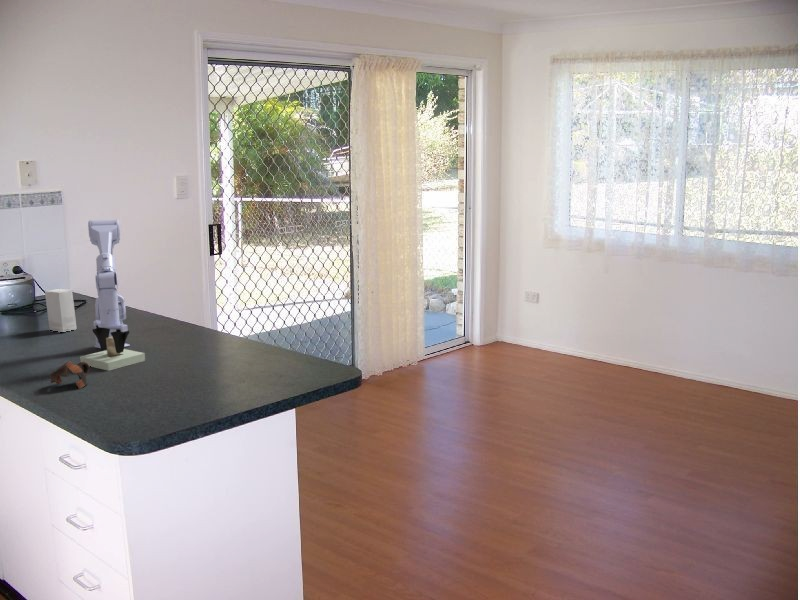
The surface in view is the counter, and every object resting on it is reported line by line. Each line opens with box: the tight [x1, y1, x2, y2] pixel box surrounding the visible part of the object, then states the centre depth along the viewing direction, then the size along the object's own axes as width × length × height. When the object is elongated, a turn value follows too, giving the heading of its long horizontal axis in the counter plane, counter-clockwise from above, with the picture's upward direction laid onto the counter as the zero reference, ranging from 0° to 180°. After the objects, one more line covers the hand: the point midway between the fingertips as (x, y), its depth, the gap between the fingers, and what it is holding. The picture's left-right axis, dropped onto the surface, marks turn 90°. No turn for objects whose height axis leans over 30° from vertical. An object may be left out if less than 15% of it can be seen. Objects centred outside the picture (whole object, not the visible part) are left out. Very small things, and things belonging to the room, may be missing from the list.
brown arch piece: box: [48, 360, 90, 390], centre depth 242 cm, size 12×10×8 cm
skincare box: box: [44, 288, 78, 333], centre depth 311 cm, size 8×7×16 cm
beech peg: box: [106, 337, 120, 358], centre depth 266 cm, size 4×4×8 cm
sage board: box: [79, 348, 146, 371], centre depth 267 cm, size 14×14×2 cm
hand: (112, 351), depth 266 cm, fingers open, 7 cm apart
